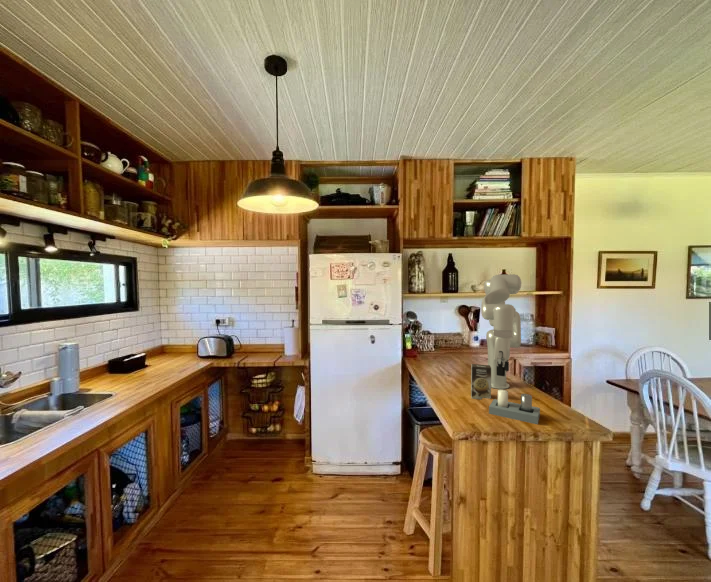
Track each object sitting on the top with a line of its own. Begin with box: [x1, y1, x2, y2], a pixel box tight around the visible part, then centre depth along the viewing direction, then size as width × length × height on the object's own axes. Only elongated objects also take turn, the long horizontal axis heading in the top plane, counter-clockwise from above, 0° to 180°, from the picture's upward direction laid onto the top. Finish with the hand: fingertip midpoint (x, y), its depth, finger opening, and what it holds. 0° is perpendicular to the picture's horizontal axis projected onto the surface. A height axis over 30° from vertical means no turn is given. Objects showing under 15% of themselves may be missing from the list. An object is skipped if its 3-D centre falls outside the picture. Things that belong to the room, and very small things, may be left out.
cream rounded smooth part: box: [497, 389, 509, 408], centre depth 131 cm, size 4×4×9 cm
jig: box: [488, 398, 541, 425], centre depth 129 cm, size 11×18×4 cm, turn 55°
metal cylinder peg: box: [520, 393, 533, 413], centre depth 126 cm, size 4×4×9 cm
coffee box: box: [470, 363, 492, 400], centre depth 151 cm, size 9×6×16 cm
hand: (502, 373), depth 131 cm, fingers open, 9 cm apart
